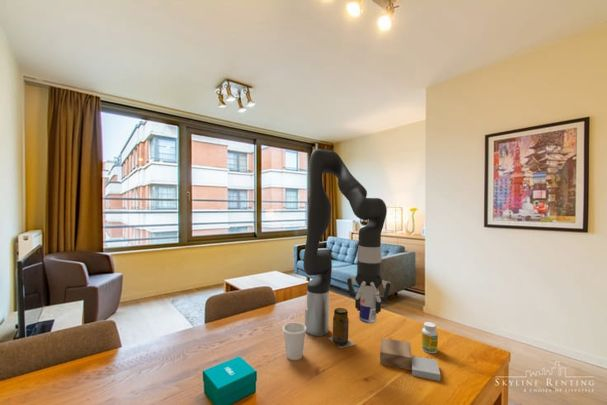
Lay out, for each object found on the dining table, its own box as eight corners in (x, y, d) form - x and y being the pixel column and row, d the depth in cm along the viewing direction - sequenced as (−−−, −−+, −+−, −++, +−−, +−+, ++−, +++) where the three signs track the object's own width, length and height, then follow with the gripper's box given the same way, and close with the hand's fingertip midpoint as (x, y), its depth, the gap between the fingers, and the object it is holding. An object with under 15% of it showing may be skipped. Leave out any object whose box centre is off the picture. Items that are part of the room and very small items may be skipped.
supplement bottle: (426, 344, 105) (427, 319, 105) (440, 351, 101) (441, 325, 101) (418, 348, 102) (419, 323, 102) (432, 355, 98) (432, 329, 98)
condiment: (343, 334, 112) (343, 305, 112) (355, 344, 105) (356, 313, 104) (327, 338, 109) (328, 308, 109) (339, 349, 101) (339, 317, 101)
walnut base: (380, 363, 93) (380, 352, 92) (381, 348, 102) (381, 337, 102) (411, 369, 89) (411, 357, 89) (409, 353, 99) (410, 342, 99)
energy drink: (357, 316, 92) (358, 281, 91) (372, 316, 92) (373, 281, 92) (362, 324, 86) (362, 286, 86) (378, 323, 87) (379, 286, 86)
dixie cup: (278, 359, 94) (278, 330, 94) (288, 347, 102) (288, 320, 102) (301, 364, 92) (301, 335, 91) (309, 351, 99) (309, 324, 99)
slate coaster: (412, 375, 87) (412, 369, 87) (410, 361, 94) (410, 355, 94) (440, 381, 84) (440, 374, 84) (436, 365, 92) (436, 360, 92)
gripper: (345, 260, 87) (343, 312, 88) (392, 264, 83) (391, 319, 83) (348, 255, 94) (347, 303, 95) (392, 259, 90) (391, 310, 90)
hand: (368, 311), depth 89 cm, fingers closed on energy drink, 5 cm apart
